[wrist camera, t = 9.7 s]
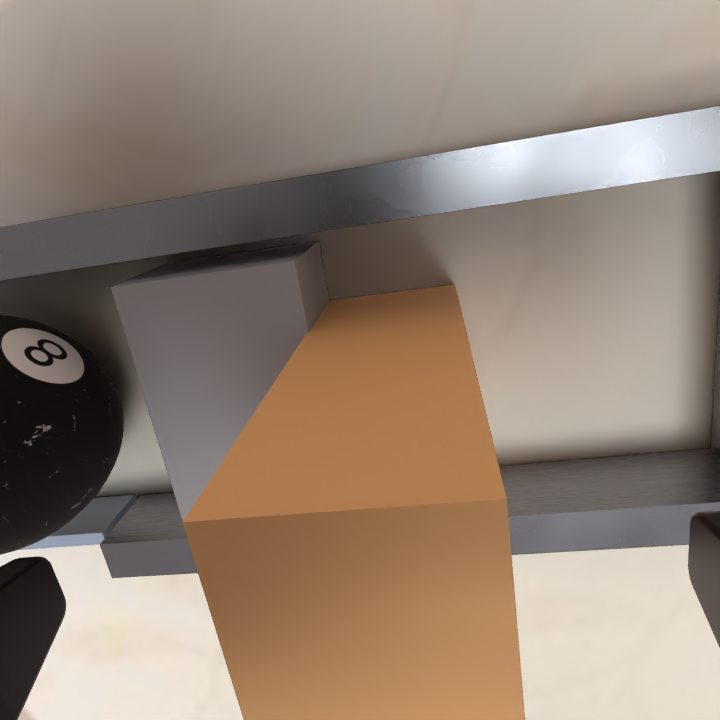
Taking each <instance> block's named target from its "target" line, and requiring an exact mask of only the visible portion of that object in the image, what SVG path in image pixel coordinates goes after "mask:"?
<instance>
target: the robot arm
mask: <svg viewBox="0 0 720 720" xmlns="http://www.w3.org/2000/svg"><path fill="white" fill-rule="evenodd" d="M688 569H689V575H690V579H691V583H692V585H693V588H694V590H695V593H696V595H697V597H698V599H699V602H700V604H701V606H702V608H703V611H704V613H705V615H706V618H707V620H708V622H709V624H710V627H711V629H712V631H713V634H714V636H715V638H716V640H717V643H718V645H719V647H720V510H717V511H703V512H696V513H695V514H694V515H693V516H692V518H691V521H690V533H689V556H688ZM65 611H66V600H65V597H64V594H63V592H62V589H61V587H60V585H59V582H58V580H57V577H56V575H55V573H54V570H53V568H52V565H51V563H50V562H49V561H48V560H47V559H46V558H43V557H26V558H18V559H15V560H12V561H10V562H9V563H7V564H5V565H3V566H1V567H0V720H17V719H18V717H19V715H20V713H21V711H22V709H23V707H24V705H25V703H26V700H27V698H28V696H29V694H30V691H31V689H32V687H33V685H34V683H35V680H36V678H37V676H38V674H39V672H40V669H41V667H42V665H43V663H44V661H45V658H46V656H47V654H48V652H49V649H50V647H51V645H52V643H53V641H54V638H55V636H56V634H57V632H58V630H59V627H60V625H61V623H62V621H63V618H64V616H65Z"/></svg>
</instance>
